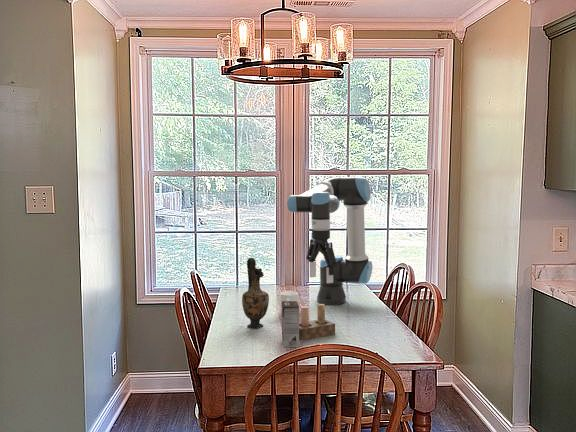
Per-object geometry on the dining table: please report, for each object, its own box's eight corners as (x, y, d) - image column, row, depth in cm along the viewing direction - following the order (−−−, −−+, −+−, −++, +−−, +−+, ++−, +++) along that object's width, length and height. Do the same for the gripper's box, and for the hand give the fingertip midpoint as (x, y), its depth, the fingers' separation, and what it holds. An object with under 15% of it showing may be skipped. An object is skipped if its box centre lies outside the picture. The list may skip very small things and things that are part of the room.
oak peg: (322, 331, 233) (322, 303, 232) (326, 333, 231) (326, 305, 229) (316, 332, 232) (315, 304, 231) (320, 334, 229) (319, 306, 228)
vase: (248, 331, 234) (247, 262, 231) (237, 324, 245) (236, 258, 242) (273, 327, 239) (272, 259, 237) (261, 320, 250) (260, 255, 247)
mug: (296, 319, 252) (296, 297, 252) (278, 318, 253) (278, 296, 252) (298, 312, 264) (298, 291, 263) (281, 312, 265) (281, 291, 264)
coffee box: (281, 340, 222) (281, 301, 221) (297, 339, 223) (297, 300, 221) (283, 347, 213) (282, 306, 212) (299, 346, 214) (299, 306, 212)
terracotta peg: (306, 334, 229) (306, 306, 228) (310, 336, 227) (310, 307, 226) (299, 335, 228) (299, 307, 227) (303, 337, 225) (303, 308, 224)
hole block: (323, 328, 237) (323, 318, 236) (335, 334, 229) (335, 323, 229) (291, 334, 229) (291, 323, 229) (301, 340, 221) (301, 329, 221)
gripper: (298, 227, 236) (298, 275, 238) (329, 233, 215) (329, 286, 216) (313, 226, 240) (313, 273, 242) (345, 231, 218) (345, 284, 220)
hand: (321, 279), depth 229 cm, fingers open, 13 cm apart
